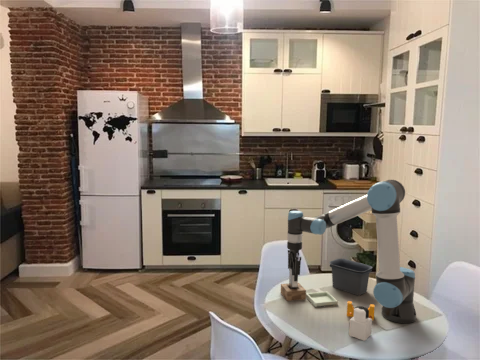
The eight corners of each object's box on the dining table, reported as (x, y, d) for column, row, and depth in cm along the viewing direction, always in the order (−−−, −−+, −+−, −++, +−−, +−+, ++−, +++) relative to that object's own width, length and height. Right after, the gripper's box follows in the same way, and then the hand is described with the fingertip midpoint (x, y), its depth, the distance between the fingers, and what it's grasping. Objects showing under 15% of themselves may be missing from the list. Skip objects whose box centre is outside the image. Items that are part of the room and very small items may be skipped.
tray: (337, 305, 195) (337, 301, 195) (315, 307, 193) (315, 303, 192) (326, 295, 207) (327, 291, 207) (305, 297, 204) (305, 293, 204)
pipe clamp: (373, 316, 185) (374, 303, 184) (373, 320, 181) (374, 307, 180) (347, 312, 188) (347, 299, 188) (346, 316, 184) (347, 303, 183)
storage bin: (325, 287, 218) (326, 262, 216) (340, 280, 229) (342, 256, 227) (360, 299, 203) (361, 272, 201) (375, 291, 213) (376, 265, 212)
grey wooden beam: (297, 295, 204) (298, 269, 202) (291, 296, 203) (291, 269, 201) (294, 292, 207) (295, 267, 205) (288, 293, 206) (289, 267, 205)
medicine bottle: (355, 329, 172) (356, 302, 171) (371, 334, 168) (373, 307, 166) (348, 335, 167) (349, 308, 165) (364, 341, 162) (366, 313, 161)
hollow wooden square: (305, 299, 202) (305, 290, 201) (287, 301, 199) (287, 291, 199) (298, 291, 211) (298, 282, 211) (280, 293, 209) (280, 284, 208)
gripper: (307, 245, 194) (306, 290, 197) (295, 236, 210) (294, 278, 213) (293, 246, 193) (292, 292, 196) (282, 237, 209) (281, 279, 212)
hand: (293, 285), depth 204 cm, fingers closed on grey wooden beam, 3 cm apart
